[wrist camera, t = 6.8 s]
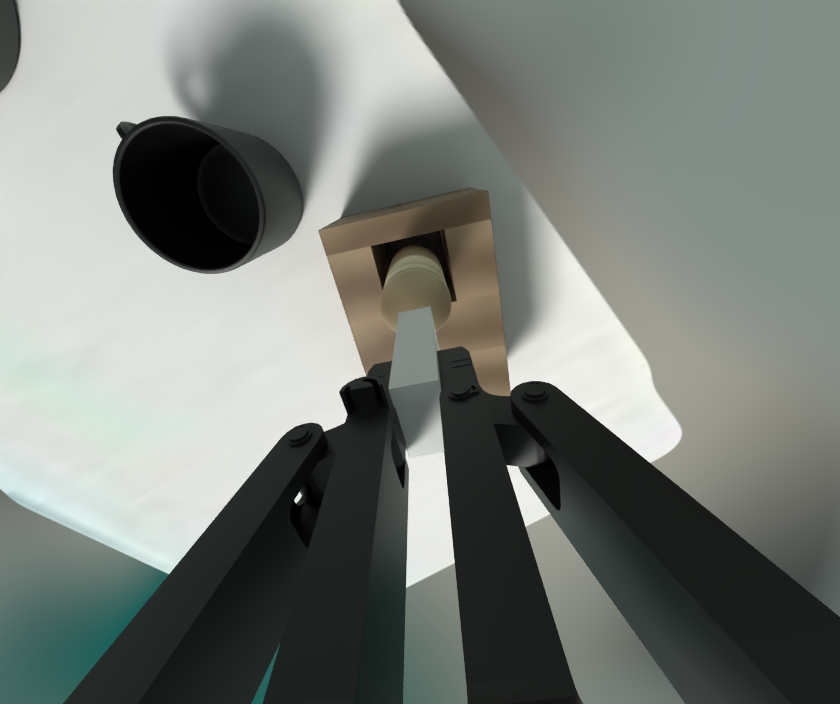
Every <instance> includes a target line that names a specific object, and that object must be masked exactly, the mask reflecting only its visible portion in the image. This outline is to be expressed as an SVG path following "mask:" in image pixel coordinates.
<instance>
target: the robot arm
mask: <svg viewBox="0 0 840 704" xmlns="http://www.w3.org/2000/svg"><path fill="white" fill-rule="evenodd" d="M18 39H19V38H18V25H17V17H16V12H15V7H14V3H13V0H0V92H1V91H2V90H3V89H4V87H5V86H6V85H7V83H8V82H9V80H10V78H11V76H12V74H13V71H14V68H15V65H16V60H17V55H18ZM339 393H340V395H341V398H342V401H343V403H344V406H345V409H346V411H347V414H348V415H347V418H346V422H345V423H344V424H342V425H340V426H338V427H335V428H333V429H330V430H328V431H325V432H324V431H323V429H322V427H321V426H320V425H319V424H316V423H307V424H302V425H300V426H296V427H294V428H293V429H291V430H290V431H288V432H287V433H286V434H285V435H284V436H283V437H282V438H281V439H280V440H279V441H278V442H277V444H276V445H275V446H274V447H273V449H272V450H271V451H270V452H269V453H268V455H267V456H266V457H265V458H264V460H263V461H262V462H261V463H260V464H259V466H258V467H257V468H256V469H255V471H254V472H253V473H252V474H251V475H250V477H249V478H248V479H247V480H246V481H245V483H244V484H243V485H242V486H241V488H240V489H239V490H238V491H237V492H236V494H235V495H234V496H233V497H232V499H231V500H230V501H229V502H228V503H227V505H226V506H225V507H224V508H223V509H222V511H221V512H220V513H219V514H218V516H217V517H216V518H215V519H214V520H213V522H212V523H211V524H210V525H209V527H208V528H207V529H206V530H205V531H204V533H203V534H202V535H201V536H200V538H199V539H198V540H197V541H196V542H195V544H194V545H193V546H192V547H191V548H190V550H189V551H188V552H187V553H186V555H185V556H184V557H183V558H182V559H181V561H180V562H179V563H178V564H177V566H176V567H175V568H174V569H173V570H172V572H171V573H170V574H169V575H168V577H167V578H166V579H165V580H164V581H163V583H162V584H161V585H160V586H159V588H158V589H157V590H156V591H155V593H154V594H153V595H152V596H151V597H150V598H149V600H148V601H147V602H146V603H145V605H144V606H143V607H142V609H140V611H139V612H138V613H137V614H136V616H135V617H134V618H133V619H132V620H131V622H130V623H129V624H128V625H127V627H126V628H125V629H124V630H123V631H122V633H121V634H120V635H119V636H118V637H117V639H116V640H115V641H114V642H113V644H112V645H111V646H110V647H109V648H108V650H107V651H106V652H105V653H104V655H103V656H102V657H101V658H100V660H99V661H98V662H97V663H96V664H95V665H94V667H93V668H92V669H91V670H90V672H89V673H88V674H87V675H86V676H85V678H84V679H83V680H82V681H81V683H80V684H79V685H78V686H77V687H76V689H75V690H74V691H73V692H72V694H71V695H70V696H69V697H68V698H67V700H66V701H65V702H64V703H63V704H251V703H252V701H253V699H254V697H255V694H256V692H257V690H258V688H259V686H260V684H261V682H262V679H263V678H264V675H265V673H266V671H267V669H268V667H269V665H270V663H271V661H272V659H273V657H274V654H275V652H276V650H277V648H278V645H279V644H280V646H279V650H278V653H277V656H276V660H275V663H274V667H273V671H272V674H271V677H270V680H269V684H268V687H267V691H266V694H265V697H264V701H263V704H403V678H404V637H405V599H406V598H405V597H406V560H407V521H408V482H409V469H408V465H407V461H406V458H405V451H406V450H407V453H408V456H409V458H411V457H417V456H423V455H429V454H435V453H441V452H444V454H445V465H446V475H447V486H448V496H449V506H450V517H451V527H452V538H453V548H454V559H455V568H456V579H457V590H458V601H459V610H460V620H461V631H462V642H463V652H464V662H465V673H466V683H467V696H468V704H583V702H582V701H581V699H580V697H579V696H578V693H577V690H576V688H575V685H574V682H573V679H572V676H571V673H570V670H569V666H568V663H567V660H566V657H565V654H564V650H563V647H562V644H561V641H560V637H559V634H558V631H557V628H556V624H555V621H554V618H553V615H552V611H551V608H550V605H549V602H548V599H547V596H546V592H545V589H544V586H543V582H542V579H541V576H540V573H539V570H538V566H537V563H536V560H535V557H534V553H533V550H532V547H531V544H530V540H529V537H528V534H527V531H526V527H525V524H524V521H523V518H522V514H521V511H520V508H519V505H518V501H517V498H516V495H515V492H514V489H513V485H512V482H511V479H510V476H509V472H508V469H507V466H506V465H511V466H518V467H519V469H520V472H521V473H522V475H523V476H524V478H525V479H526V480H527V482H528V483H529V485H530V486H531V487H532V489H533V490H534V492H535V493H536V494H537V496H538V497H539V499H540V500H541V501H542V503H543V504H544V506H545V507H546V508H547V510H548V511H549V513H550V514H551V515H552V517H553V518H554V520H555V521H556V522H557V524H558V525H559V527H560V528H561V529H562V531H563V532H564V534H565V535H566V537H567V538H568V539H569V541H570V542H571V544H572V545H573V546H574V548H575V549H576V551H577V552H578V553H579V555H580V556H581V557H582V559H583V560H584V562H585V563H586V565H587V566H588V567H589V569H590V570H591V572H592V573H593V574H594V576H595V577H596V579H597V580H598V581H599V583H600V584H601V586H602V587H603V588H604V590H605V591H606V593H607V594H608V596H609V597H610V598H611V600H612V601H613V603H614V604H615V605H616V607H617V608H618V609H619V611H620V612H621V614H622V615H623V616H624V618H625V619H626V621H627V622H628V623H629V625H630V626H631V628H632V629H633V630H634V632H635V633H636V635H637V636H638V638H639V639H640V640H641V642H642V643H643V645H644V646H645V647H646V649H647V650H648V652H649V653H650V654H651V656H652V657H653V659H654V660H655V662H656V663H657V664H658V666H659V667H660V668H661V670H662V671H663V673H664V674H665V676H666V677H667V678H668V680H669V681H670V683H671V684H672V685H673V687H674V688H675V689H676V691H677V692H678V694H679V695H680V697H681V698H682V699H683V701H684V702H685V703H686V704H840V617H839V616H838V615H836V614H835V613H834V612H833V611H832V610H830V609H829V608H828V607H827V606H825V605H824V604H823V603H822V602H821V601H819V600H818V599H817V598H816V597H814V596H813V595H812V594H811V593H809V592H808V591H807V590H806V589H805V588H803V587H802V586H801V585H800V584H798V583H797V582H796V581H795V580H793V579H792V578H791V577H790V576H789V575H787V574H786V573H785V572H784V571H782V570H781V569H780V568H779V567H777V566H776V565H775V564H774V563H772V562H771V561H770V560H769V559H767V558H766V557H765V556H764V555H763V554H761V553H760V552H759V551H758V550H756V549H755V548H754V547H753V546H752V545H750V544H749V543H748V542H746V541H745V540H744V539H743V538H742V537H740V536H739V535H738V534H737V533H736V532H734V531H733V530H732V529H731V528H729V527H728V526H727V525H726V524H724V523H723V522H722V521H721V520H720V519H718V518H717V517H716V516H715V515H713V514H712V513H711V512H710V511H708V510H707V509H706V508H705V507H703V506H702V505H701V504H700V503H698V502H697V501H696V500H695V499H694V498H692V497H691V496H690V495H689V494H687V493H686V492H685V491H684V490H683V489H681V488H680V487H679V486H678V485H676V484H675V483H674V482H672V481H671V480H670V479H669V478H667V477H666V476H665V475H664V474H663V473H662V472H660V471H659V470H658V469H657V468H655V467H654V466H653V465H652V464H650V463H649V462H648V461H647V460H646V459H644V458H643V457H642V456H641V455H639V454H638V453H637V452H636V451H634V450H633V449H632V448H631V447H630V446H628V445H627V444H626V443H625V442H623V441H622V440H621V439H620V438H618V437H617V436H616V435H615V434H614V433H612V432H611V431H610V430H609V429H607V428H606V427H605V426H604V425H602V424H601V423H600V422H599V421H597V420H596V419H595V418H594V417H593V416H591V415H590V414H589V413H588V412H586V411H585V410H584V409H583V408H581V407H580V406H579V405H578V404H577V403H575V402H574V401H573V400H572V399H570V398H569V397H568V396H567V395H565V394H564V393H563V392H562V391H561V390H559V389H558V388H557V387H555V386H553V385H552V384H550V383H546V382H541V381H530V382H526V383H522V384H520V385H518V386H516V387H515V388H514V389H513V390H512V391H511V394H510V396H498V395H493V394H489V393H487V392H485V391H484V390H483V389H482V388H481V386H480V385H479V382H478V379H477V376H476V372H475V369H474V366H473V362H472V359H471V356H470V353H469V351H468V350H467V349H465V348H464V347H462V346H460V347H455V348H450V349H445V350H440V349H439V344H438V340H437V335H436V330H435V325H434V321H433V316H432V311H431V306H430V307H425V308H420V309H415V310H410V311H405V312H400V313H399V316H398V323H397V330H396V337H395V345H394V352H393V359H392V361H388V362H383V363H378V364H374V365H373V366H372V367H371V369H370V370H369V371H368V373H367V376H366V377H361V378H358V379H355V380H353V381H351V382H349V383H347V384H346V385H345V386H344V387H342V389H341V390H340V392H339ZM299 492H300V493H301V494H302V497H301V499H300V500H299V501H298V503H297V504H296V503H295V502H294V499H295V498H296V496H297V495H298V493H299ZM280 642H281V643H280Z"/></svg>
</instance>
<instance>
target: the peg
mask: <svg viewBox="0 0 840 704" xmlns="http://www.w3.org/2000/svg"><path fill="white" fill-rule="evenodd" d="M430 306H431V311H432V316H433V321H434V325H435V330H436V332H437V331H439V330H440V329H441V328H442V327H443V326H444V324H445V323H446V321H447V320H448V318H449V315H450V312H451V297H450V293H449V290H448V288H447V284H446V281H445V278H444V274H443V271H442V268H441V264H440V261H439V259H438V257H437V256H436V254H435V253H434V252H433V251H432V250H430V249H429V248H427V247H425V246H421V245H409V246H406V247H404V248H402V249H400V250H399V251H398V252H397V253H396V254H395V255H394V257H393V258H392V260H391V263H390V267H389V270H388V274H387V278H386V281H385V285H384V288H383V291H382V294H381V299H380V310H381V314H382V317H383V319H384V321H385V322H386V324H387V325H388V326H389V327H390V328H391V329H392V330H393V331H394V332H396V330H397V323H398V316H399V313H400V312H405V311H410V310H415V309H420V308H425V307H430Z"/></svg>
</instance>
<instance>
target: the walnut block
mask: <svg viewBox="0 0 840 704" xmlns="http://www.w3.org/2000/svg"><path fill="white" fill-rule="evenodd" d="M318 231H319V234H320V237H321V240H322V243H323V246H324V249H325V252H326V255H327V258H328V262H329V265H330V268H331V271H332V274H333V277H334V280H335V283H336V286H337V289H338V292H339V295H340V298H341V301H342V304H343V307H344V310H345V313H346V316H347V319H348V322H349V325H350V328H351V331H352V334H353V337H354V340H355V343H356V346H357V349H358V352H359V355H360V358H361V361H362V364H363V367H364V370H365V373H366V376H367V373H368V371H369V370H370V369H371V367H372V366H373V365H374V364H378V363H383V362H388V361H392V359H393V352H394V345H395V337H396V332H394V331H393V330H392V329H391V328H390V327H389V326H388V325H387V324H386V322H385V321H384V319H383V317H382V314H381V310H380V299H381V294H382V291H383V288H384V285H385V281H386V278H387V274H388V270H389V263H388V259H387V255H386V251H385V247H384V243H387V242H391V241H396V240H400V239H405V238H409V237H413V236H418V235H422V234H427V233H431V232H436V231H440V233H441V239H442V245H443V250H444V256H445V261H446V267H447V273H448V275H446V276H444V278H445V281H446V284H447V288H448V290H449V293H450V297H451V312H450V315H449V318H448V320H447V321H446V323H445V324H444V326H443V327H442V328H441V329H440V330H439V331H437V332H436V335H437V340H438V344H439V349H440V350H445V349H450V348H455V347H460V346H462V347H464V348H465V349H467V350H468V351H469V353H470V356H471V359H472V362H473V366H474V369H475V372H476V376H477V379H478V382H479V385H480V386H481V388H482V389H483V390H484V391H485V392H487V393H489V394H493V395H498V396H510V394H511V391H510V382H509V373H508V364H507V356H506V347H505V338H504V329H503V320H502V311H501V302H500V294H499V285H498V276H497V267H496V258H495V249H494V240H493V231H492V223H491V214H490V205H489V196H488V191H484V190H479V189H474V188H468V189H464V190H460V191H455V192H451V193H447V194H443V195H438V196H434V197H430V198H426V199H421V200H417V201H413V202H408V203H404V204H400V205H396V206H391V207H387V208H383V209H379V210H374V211H370V212H366V213H361V214H357V215H353V216H349V217H344V218H340V219H338V220H336V221H335V222H333V223H331V224H329V225H327V226H326V227H324V228H322V229H320V230H318Z"/></svg>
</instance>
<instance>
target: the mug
mask: <svg viewBox="0 0 840 704" xmlns="http://www.w3.org/2000/svg"><path fill="white" fill-rule="evenodd" d="M116 130H117V132H118V134H119V135H120V137H121V138H122V141H121V142H120V144H119V146H118V148H117V151H116V154H115V158H114V165H113V182H114V188H115V193H116V197H117V200H118V202H119V205H120V208H121V210H122V212H123V214H124V216H125V218H126V220H127V221H128V223H129V224H130V226H131V228H132V229H133V230H134V232H135V233H136V234H137V235H138V237H139V238H140V239H141V240H142V241H143V242H144V243H145V244H146V245H147V246H148V247H149V248H150V249H151V250H152V251H154V252H155V253H156V254H158V255H159V256H160V257H162V258H163V259H165V260H167V261H168V262H170V263H172V264H174V265H176V266H178V267H181V268H183V269H186V270H190V271H193V272H198V273H205V274H217V273H224V272H228V271H231V270H234V269H236V268H238V267H240V266H242V265H244V264H246V263H248V262H250V261H252V260H254V259H256V258H258V257H260V256H262V255H264V254H265V253H267V252H269V251H271V250H273V249H275V248H277V247H279V246H281V245H283V244H284V243H285V242H286V241H288V240H289V239H290V238H291V236H292V235H293V234H294V233H295V231H296V229H297V227H298V225H299V222H300V219H301V213H302V197H301V191H300V187H299V183H298V181H297V178H296V176H295V174H294V172H293V170H292V168H291V167H290V165H289V164H288V162H287V161H286V160H285V159H284V157H283V156H282V155H281V154H280V153H279V152H278V151H277V150H276V149H275V148H273V147H272V146H271V145H269V144H268V143H266V142H265V141H263V140H261V139H259V138H257V137H255V136H252V135H249V134H245V133H241V132H237V131H234V130H230V129H226V128H222V127H218V126H214V125H210V124H206V123H203V122H199V121H195V120H191V119H187V118H182V117H177V116H161V117H155V118H150V119H148V120H146V121H143V122H141V123H139V124H138V125H137V124H134V123H130V122H120V124H119V125H118V126H117V128H116Z"/></svg>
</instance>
